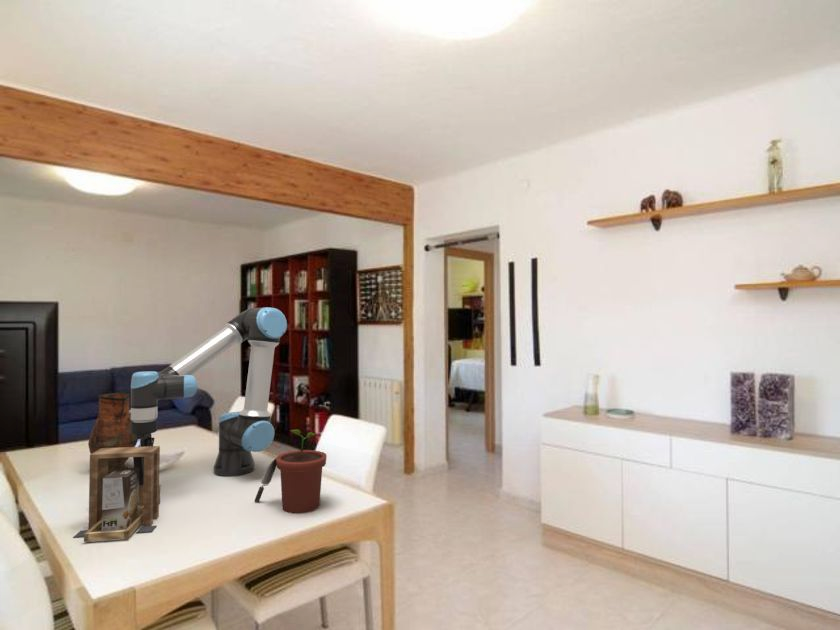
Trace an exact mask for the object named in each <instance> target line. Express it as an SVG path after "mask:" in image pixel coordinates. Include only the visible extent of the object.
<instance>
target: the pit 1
mask: <svg viewBox="0 0 840 630" xmlns="http://www.w3.org/2000/svg"><path fill="white" fill-rule="evenodd" d="M88 530H89V529H84V530H80V531H78V532H77V533H76V534H75V535H74V536H72V538H73V539H78V538H84V534H85V533H86V532H87V531H88Z"/></svg>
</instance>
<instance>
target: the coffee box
mask: <svg viewBox="0 0 840 630" xmlns="http://www.w3.org/2000/svg"><path fill="white" fill-rule="evenodd" d="M139 507H140V506H139V468H134V467H128V468H123V469H116V470H114V471H113V472H111V473H109V474H108V475H106V476H105V477H103V496H102V529H101V531H116V530H126V529H127V528H128V527H129V526H130V525H131V524H132V523H133V522H134V521H135V520H136V519H137V517H138V512H139Z"/></svg>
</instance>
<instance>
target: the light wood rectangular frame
mask: <svg viewBox="0 0 840 630" xmlns="http://www.w3.org/2000/svg"><path fill="white" fill-rule="evenodd" d="M161 486H162V485H161V484H160V483H159V505H160V504H161ZM143 492H144V485H141V486H139V512H138V517H137V519H136V520H135V521H134V522H133V523H132V524H131V525H130V526H129V527H128V528H127V529H126V530H116V531H102V519H101V520H100V521H99V522H97V523H96V524H95V525H94V526H93V527H92V528H91V529H89V528H88V529H87V530H88V531H87V532H86V533H85V534H84V537H83V543H84V542H99V541H101V542H102V541H113V540H114V541H115V540H126V539H128V540H129V538H130V537H131V536H132V535H133V534H134V533H135V532H136V531H137V529H138V528H139V527H141V526H142V525H143Z"/></svg>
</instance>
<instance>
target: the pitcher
mask: <svg viewBox="0 0 840 630" xmlns="http://www.w3.org/2000/svg"><path fill="white" fill-rule="evenodd" d="M97 397H98V401H99V402H98V413H97V418H96V421H95V423H94V426H93V427H92V429H91V431H90V433H89V434H90V435H89V439H88V450H89V453H90V454H92V453H94V452H95V451H97V450H99V449H101V448H122V447H133V446H135V440H136V435H135V434H131V433H130V423H131V422H132V420H131V413H129V411H130V399H131V393H129V392H109V393H104V394H99V395H98V396H97ZM129 458H130V457H123V458H108V474H109V473H111V472H113V471H114V470H116V469H123V468H129V467H126V466H127V465H126V464H125V463H126V462H127V461H128V460H129ZM125 465H126V466H125Z"/></svg>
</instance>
